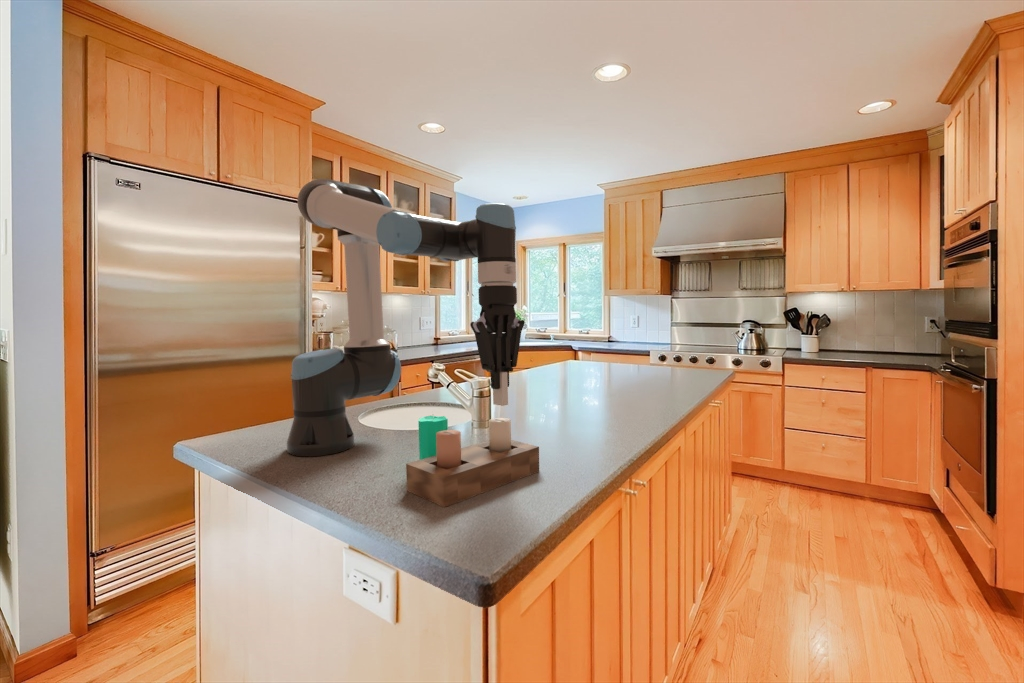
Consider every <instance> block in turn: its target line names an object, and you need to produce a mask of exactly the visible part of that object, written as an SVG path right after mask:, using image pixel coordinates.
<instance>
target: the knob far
mask: <svg viewBox="0 0 1024 683" xmlns="http://www.w3.org/2000/svg"><path fill="white" fill-rule="evenodd" d="M511 420H512V419H511V418H507V417H496V418H491V419H489V420H488V439H489V440H488V441H489V450H491V451H495V452H499V453H502V452H505V451H508V450H511V440H512V421H511Z"/></svg>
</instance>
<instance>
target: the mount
mask: <svg viewBox="0 0 1024 683" xmlns="http://www.w3.org/2000/svg"><path fill="white" fill-rule="evenodd" d="M405 471H406V491H407V492H408V493H409V492H410V493H411V494H413V495H415V496H418V497H419V498H423V499H425V500H427V501H429V502H432V503H434V504H437V505H438V506H441V507H443V508H446V507H448V506H451V505H452V506H453V504H457V503H460V502H462V501H464V500H467V499H470V498H472V497H475V496H478V495H481V494H483V493H485V492H488V491H489V492H490V490H491V491H492V490H493V489H496V488H498V487H499V488H500V487H502V486H504V485H506V484H507V485H508V484H509V483H512V482H515V481H517V480H519V479H523V478H525V477H528V476H530V475H533V474H536V473H538V472H540V446H537V445H534V444H529V443H525V442H521V441H517V440H513V439H511V450H508V451H505V452H502V453H499V452H495V451H491V450H489V440H487V441H483V442H479V443H476V444H473V445H469V446H465V447H461V465H460V466H457V467H453V468H450V469H447V470H446V469H444V468H441V467H438V466H437V455H436V456H432V457H429V458H425V459H421V460H420V459H419V460H415V461H414V460H413V461H411V462H408V463H406V464H405Z"/></svg>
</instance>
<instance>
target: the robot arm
mask: <svg viewBox="0 0 1024 683" xmlns="http://www.w3.org/2000/svg"><path fill="white" fill-rule="evenodd" d="M297 207H298V210H299V212H300V214H301V215H302V218H304V219H305V220H306V221H307V222H308V223H310V224H312V225H314V226H315V227H316V226H317V227H320V228H323V229H331V230H336V233H337V240H338V241H339V243H341V244H342V245H343V247H344V261H345V262H344V263H345V265H344V266H345V279H346V281H345V283H346V296H347V297H346V298H347V317H348V336H349V338H348V340H347V341H346V343H345V344H344V345H343V349H341V348H326V349H319V350H312V351H308V352H305V353H301V354H299V355H296V356H295V357H294V358H293V359H292V361H291V373H290V378H291V386H292V388H291V389H292V390H291V391H292V407H293V408H292V409H293V420H292V424H291V427H290V431H289V435H288V437H287V440H286V452H287V453H288V454H289V453H290V454H289V455H291V454H292V456H295V455H296V456H297V457H320V456H328V455H332V454H337V453H341V452H344V451H347V450H349V449H351V448H353V447H354V446H355V435H354V432H353V429H352V427H351V424H350V422H349V419H348V417H347V414H346V401H349V400H356V399H361V398H367V397H379V396H380V395H384V394H388V393H389V392H392V391H393V390H394V389H395V387H396V386H397V385H398V383H399V381H400V379H401V373H402V364H401V360H400V358H399V355H398V353H397V352H395V351H394V350H393V349H391V343H390V342H389V341H388V340H387V339H386V338H385V334H384V332H385V331H384V318H383V317H384V316H383V312H384V311H383V295H382V294H383V293H382V279H381V278H382V277H381V276H382V275H381V260H380V258H381V257H380V246H381V249H382V250H383V251H384V252H386V253H391V254H395V255H398V256H399V255H401V256H418V257H419V256H421V257H429V258H430V257H431V258H438V259H439V260H441V261H442V262H459V261H463V260H467V259H468V260H469V259H475V258H477V282H478V285H480V286H479V288H478V289H477V290H478V304H479V305H480V307H481V309H480V313H479V318H478V319H477V320H475V321H471V322H470V325H469V326H470V328H471V329H472V332H473V333H474V337H475V338H474V339H475V342H476V345H477V351H478V355H479V360H480V361H479V362H480V366H481V369H482V370H484V371H486V372H488V373H490V388H491V389H492V399H493V400H492V404H493V405H496V406H501V407H505V406H509V388H508V387H510V373H511V372H513V371H514V368H516V367H517V365H518V360H519V359H518V358H519V350H520V344H521V337H522V331H523V329H524V326H525V323H526V322H525V320H524V319H519V318H518V317H517V313H516V310H515V306H516V305H517V304H518V291H517V290H518V288H517V287H516V285H514V284H516V283H517V261H516V260H517V259H516V258H517V257H516V236H517V235H516V233H517V232H516V230H517V227H516V218H515V210H514V208H513V207H512V206H511V205H509V204H506V203H502V202H501V203H499V202H492V203H491V202H489V203H484V204H481V205H479V206H477V208H476V211H475V212H476V214H475V215H474V217H475V219H472V220H466V221H452V220H446V219H441V218H435V217H428V216H423V215H418V214H415V213H410V212H407V211H404V210H399V209H396V208H393V206H392V203H391V201H390V199H389V198H388V196H387V195H386V194H385V193H384V192H383V191H381V190H379V189H375V188H372V187H370V186H368V185H359V184H353V183H349V182H344V181H339V180H334V179H329V178H318V179H314V180H311V181H309V182H308V183H305V184H304V185H303V186H302V188H301V189H300V190H299V193H298V195H297ZM296 456H295V457H296Z"/></svg>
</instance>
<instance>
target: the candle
mask: <svg viewBox="0 0 1024 683" xmlns="http://www.w3.org/2000/svg"><path fill="white" fill-rule="evenodd" d="M448 422H449V421H448V418H447V417H446V416H445V415H442V416H437V415H436V416H435V415H426V416H423V417H420V418H419V419H418V450H419V451H418V453H419V455H418V456H419V460H421V459H425V458H429V457H432V456H436V455H437V449H436V433H437V432H439V431H444V430H449V429H448V428H449V426H448V425H449V424H448Z"/></svg>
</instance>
